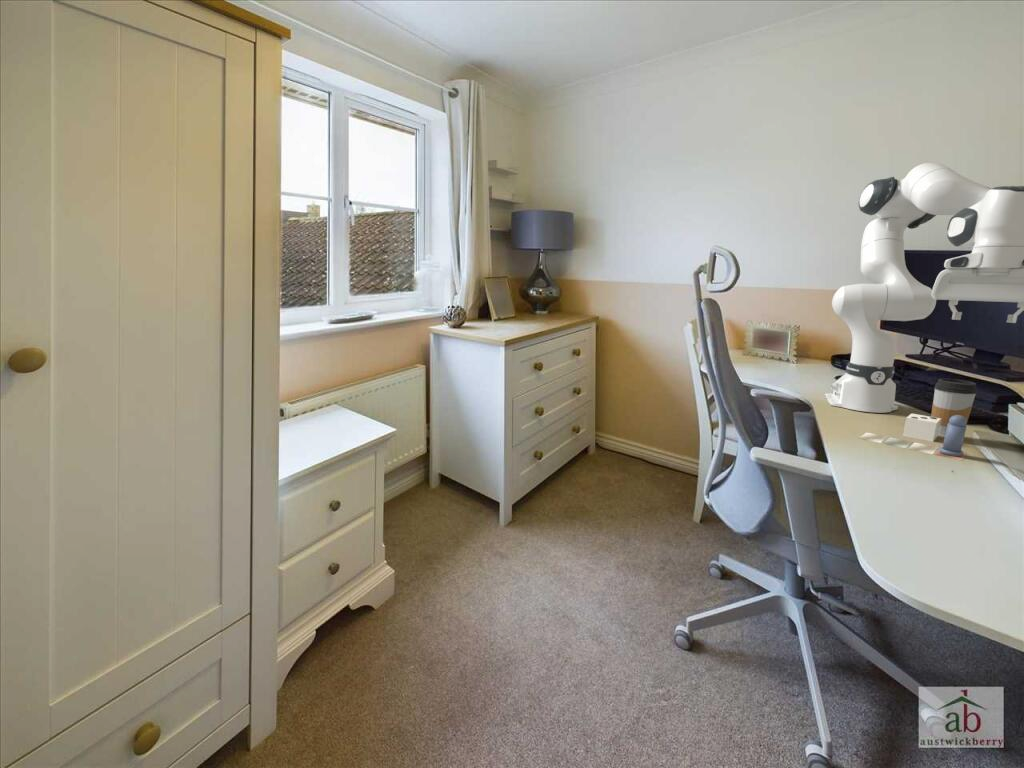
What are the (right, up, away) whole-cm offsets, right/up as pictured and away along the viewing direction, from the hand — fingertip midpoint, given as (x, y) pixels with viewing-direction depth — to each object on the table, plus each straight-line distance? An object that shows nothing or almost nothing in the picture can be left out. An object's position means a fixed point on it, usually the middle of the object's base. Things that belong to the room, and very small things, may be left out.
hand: (982, 321), depth 114 cm
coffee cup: (+4, -29, +14) cm, 32 cm away
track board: (-14, -31, +4) cm, 34 cm away
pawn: (-9, -31, -2) cm, 32 cm away
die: (-6, -29, +11) cm, 32 cm away
